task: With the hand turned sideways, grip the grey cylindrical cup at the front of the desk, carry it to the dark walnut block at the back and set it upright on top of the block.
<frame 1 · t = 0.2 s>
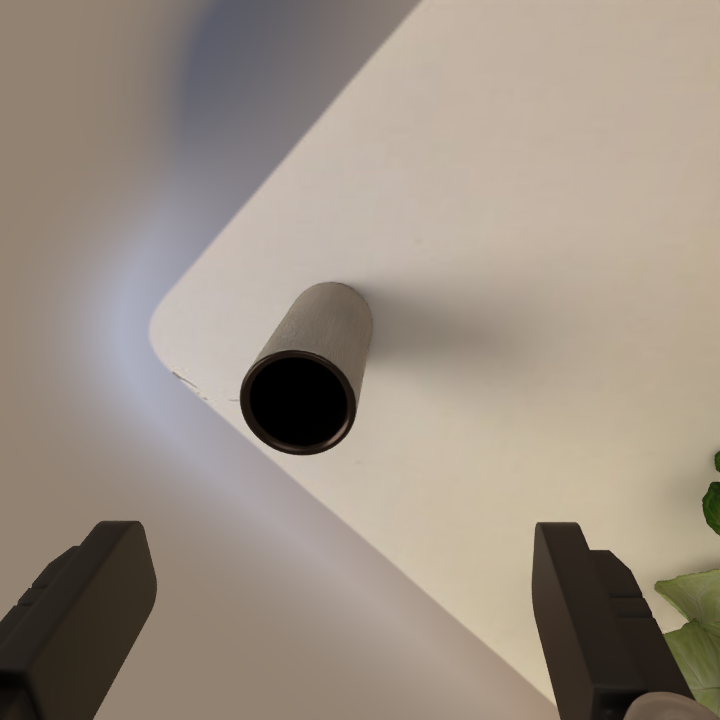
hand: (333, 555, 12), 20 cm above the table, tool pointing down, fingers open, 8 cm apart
grey cylindrical cup: (332, 320, 31), on the table
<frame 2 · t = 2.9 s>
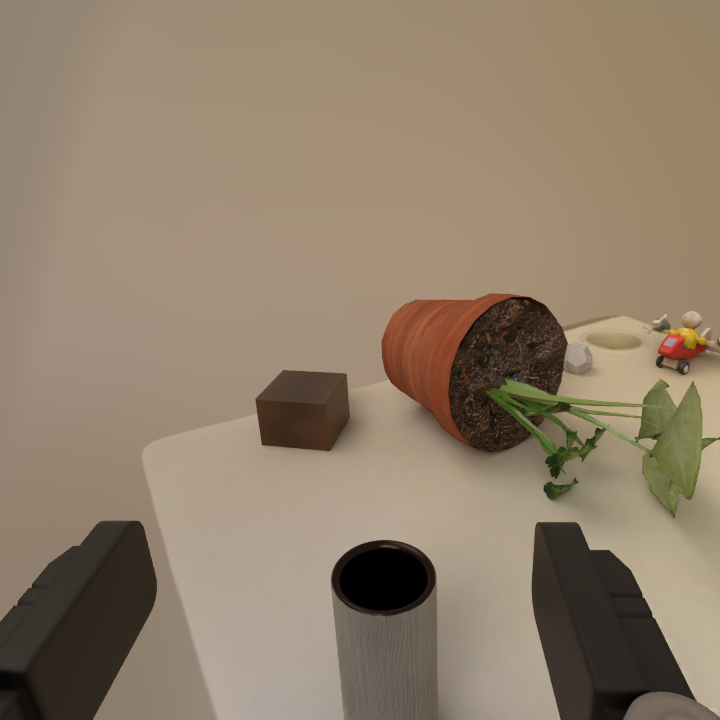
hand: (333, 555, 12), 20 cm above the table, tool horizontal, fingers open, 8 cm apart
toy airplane: (688, 363, 68), on the table
grey rock: (574, 371, 68), on the table
block: (307, 430, 58), on the table
potted plant: (544, 466, 50), on the table
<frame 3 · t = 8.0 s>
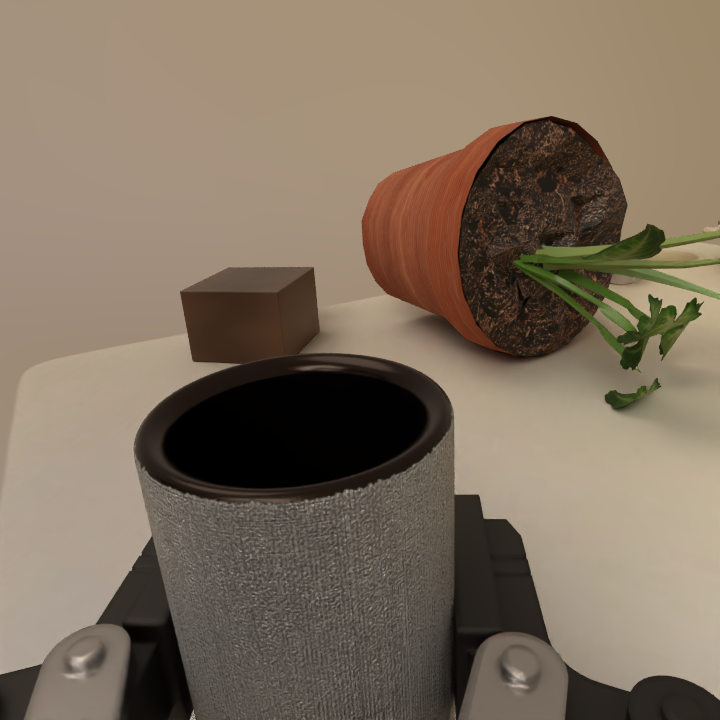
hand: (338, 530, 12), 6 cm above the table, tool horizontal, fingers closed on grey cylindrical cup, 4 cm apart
grey rock: (619, 283, 52), on the table
block: (259, 345, 42), on the table
potted plant: (599, 375, 34), on the table
when the fingers open (11 cm above the table, at t = 19.9 s): grey cylindrical cup stays where it is, resting on block.
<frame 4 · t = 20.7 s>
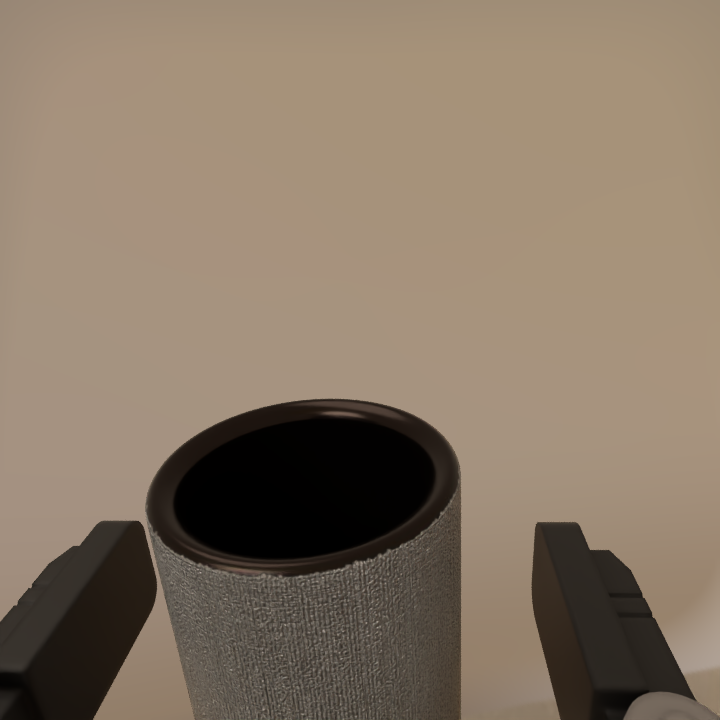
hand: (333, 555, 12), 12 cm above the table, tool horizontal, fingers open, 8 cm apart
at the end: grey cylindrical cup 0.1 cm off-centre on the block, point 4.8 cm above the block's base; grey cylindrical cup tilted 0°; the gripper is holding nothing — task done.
